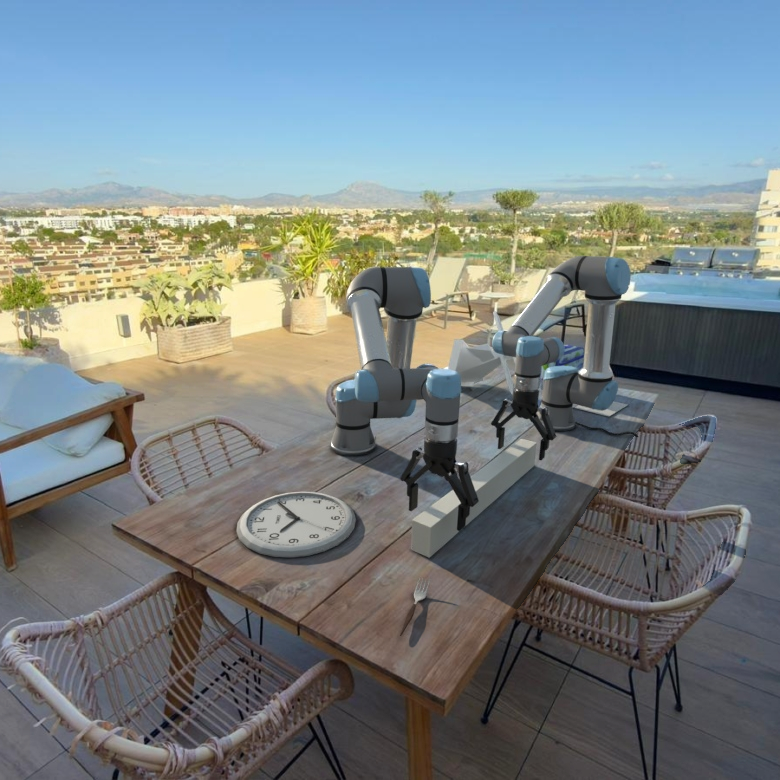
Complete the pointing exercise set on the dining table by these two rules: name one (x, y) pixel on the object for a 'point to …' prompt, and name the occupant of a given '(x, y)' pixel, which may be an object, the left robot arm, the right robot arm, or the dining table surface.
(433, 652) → the dining table surface
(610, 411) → the invitation card
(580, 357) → the lunch box
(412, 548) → the beam
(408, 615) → the fork
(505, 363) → the white plastic object
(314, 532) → the wall clock
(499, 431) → the right robot arm
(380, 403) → the left robot arm
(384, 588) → the dining table surface
